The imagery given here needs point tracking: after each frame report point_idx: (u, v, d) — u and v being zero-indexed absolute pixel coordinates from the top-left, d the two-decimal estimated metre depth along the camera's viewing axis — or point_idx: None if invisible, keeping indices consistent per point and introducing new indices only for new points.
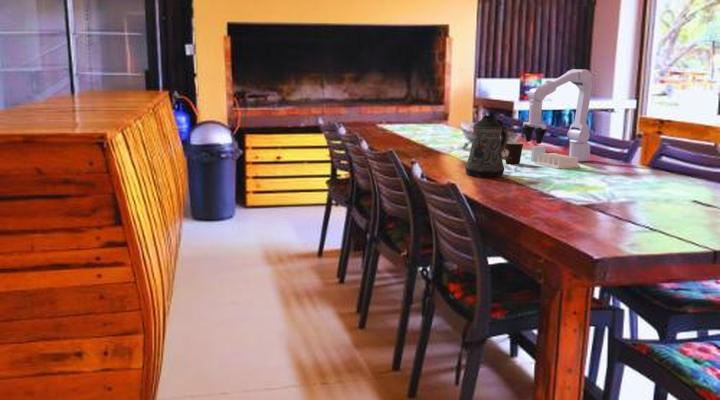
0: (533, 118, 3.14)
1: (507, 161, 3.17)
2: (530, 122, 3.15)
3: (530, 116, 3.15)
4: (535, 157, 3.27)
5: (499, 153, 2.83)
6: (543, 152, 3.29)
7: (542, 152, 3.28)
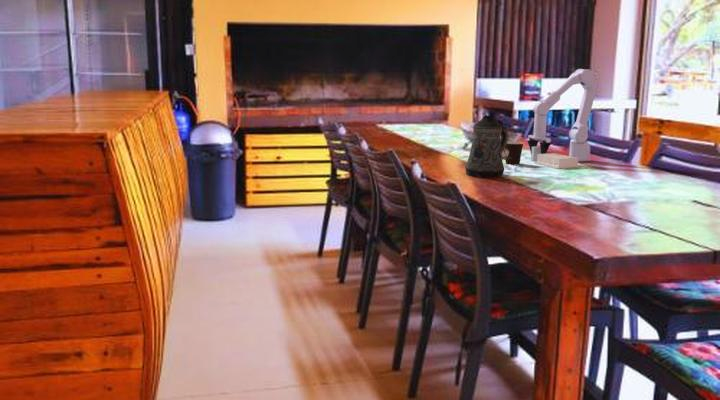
0: (538, 131, 3.24)
1: (507, 161, 3.17)
2: (535, 135, 3.25)
3: (535, 130, 3.25)
4: (535, 157, 3.27)
5: (499, 153, 2.83)
6: None
7: None
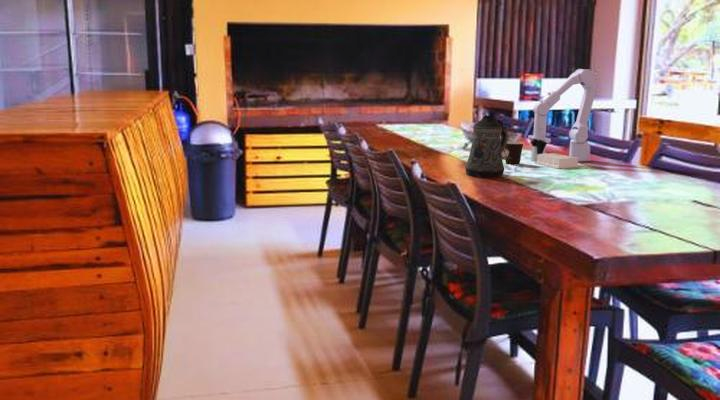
0: (538, 131, 3.24)
1: (507, 161, 3.17)
2: (535, 136, 3.25)
3: (535, 130, 3.25)
4: (535, 157, 3.27)
5: (499, 153, 2.83)
6: (543, 152, 3.29)
7: None
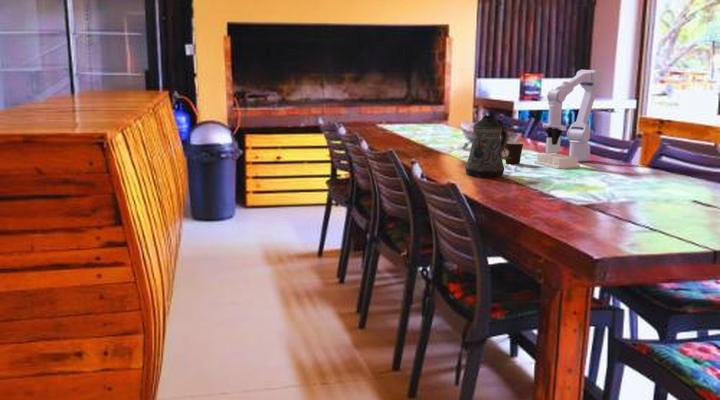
0: (553, 119, 3.12)
1: (507, 161, 3.17)
2: (550, 123, 3.14)
3: (550, 117, 3.13)
4: (550, 148, 3.16)
5: (499, 153, 2.83)
6: (558, 143, 3.17)
7: (557, 143, 3.17)
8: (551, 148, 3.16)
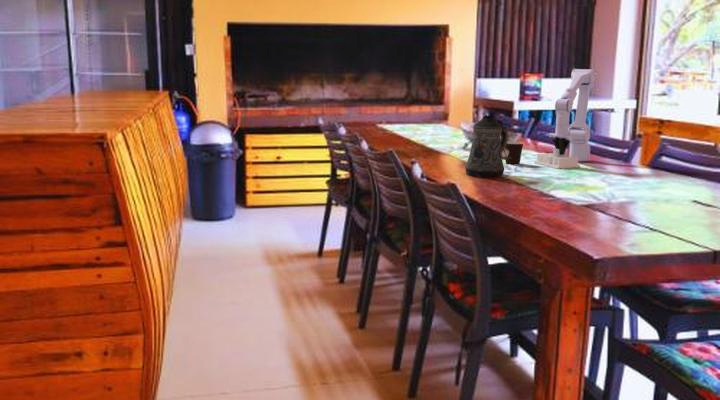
0: (560, 129, 3.08)
1: (507, 161, 3.17)
2: (557, 133, 3.09)
3: (557, 127, 3.09)
4: None
5: (499, 153, 2.83)
6: (565, 155, 3.13)
7: (564, 155, 3.13)
8: None
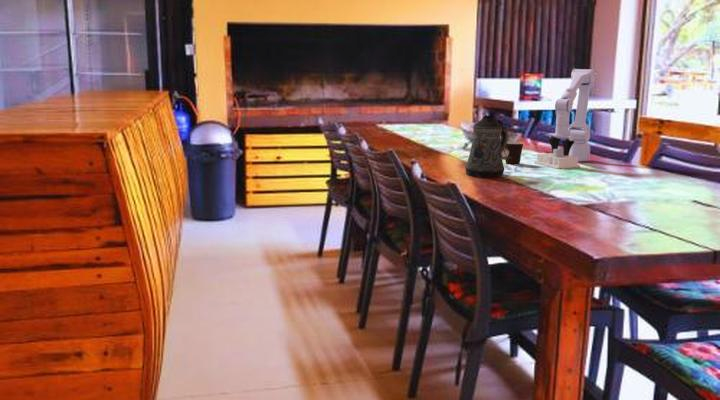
0: (560, 129, 3.08)
1: (507, 161, 3.17)
2: (557, 133, 3.09)
3: (557, 127, 3.09)
4: None
5: (499, 153, 2.83)
6: None
7: None
8: None
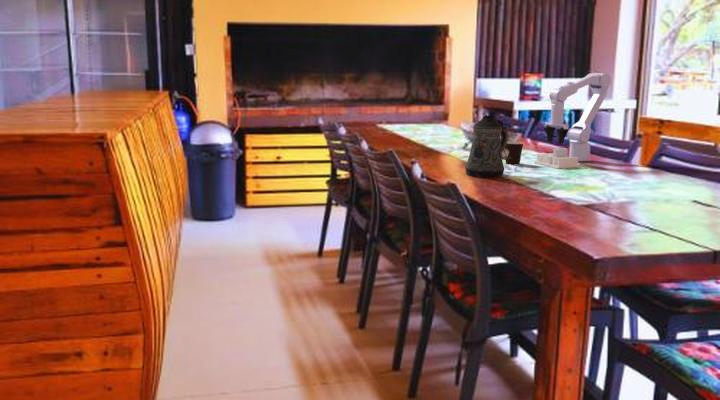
0: (555, 118, 3.18)
1: (507, 161, 3.17)
2: (552, 122, 3.19)
3: (552, 116, 3.19)
4: None
5: (499, 153, 2.83)
6: (565, 155, 3.13)
7: (564, 155, 3.13)
8: None
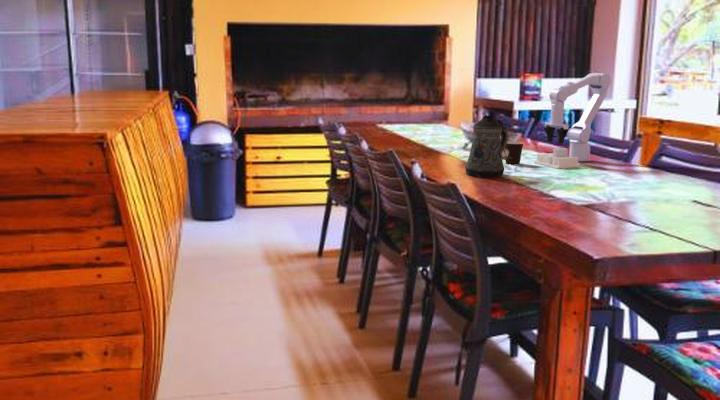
0: (555, 118, 3.18)
1: (507, 161, 3.17)
2: (552, 122, 3.19)
3: (552, 116, 3.19)
4: None
5: (499, 153, 2.83)
6: (565, 155, 3.13)
7: (564, 155, 3.13)
8: None
